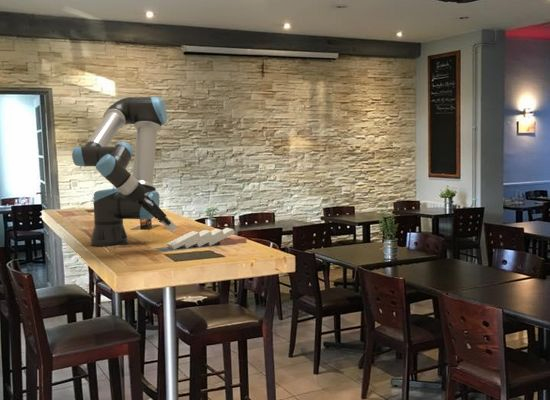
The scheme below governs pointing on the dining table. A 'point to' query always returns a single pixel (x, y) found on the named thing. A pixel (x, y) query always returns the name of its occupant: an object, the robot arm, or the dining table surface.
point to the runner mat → (165, 249)
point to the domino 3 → (215, 234)
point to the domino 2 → (203, 235)
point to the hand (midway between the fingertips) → (174, 229)
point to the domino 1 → (183, 240)
